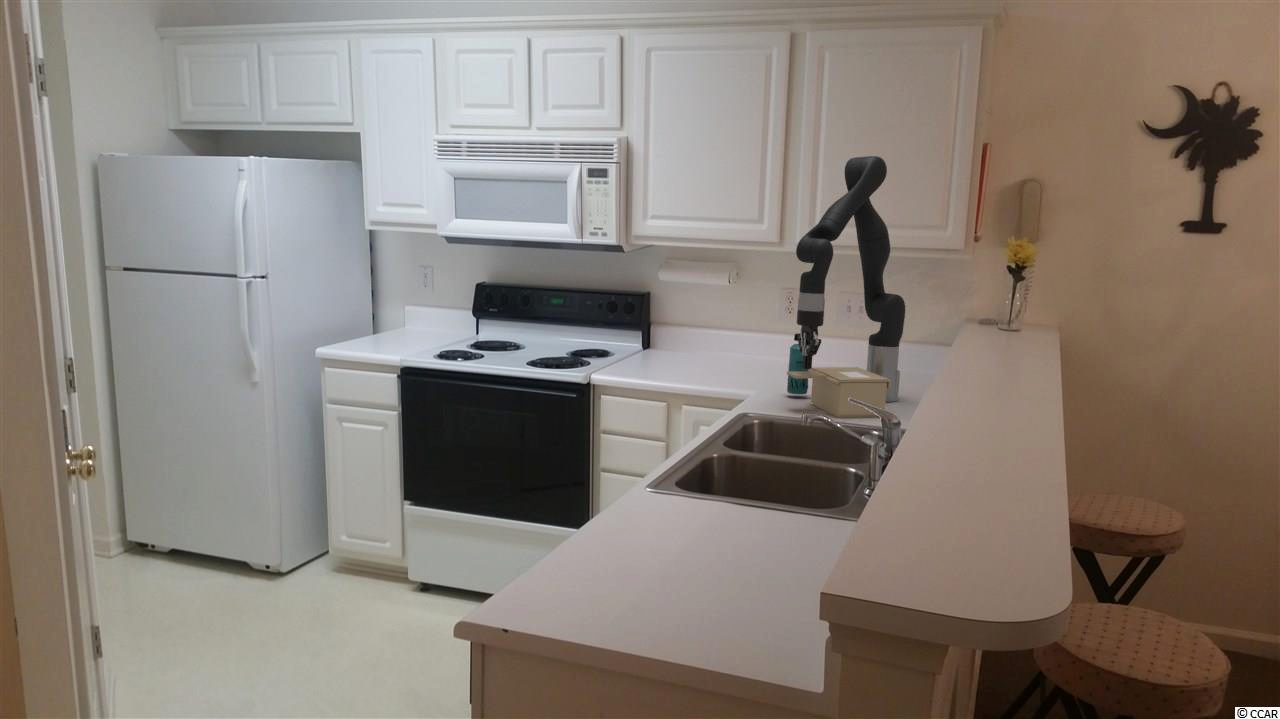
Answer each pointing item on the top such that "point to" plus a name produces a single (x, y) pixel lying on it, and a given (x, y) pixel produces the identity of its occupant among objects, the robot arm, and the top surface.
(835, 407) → the mailer box
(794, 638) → the top surface
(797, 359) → the beverage bottle
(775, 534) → the top surface
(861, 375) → the lid
